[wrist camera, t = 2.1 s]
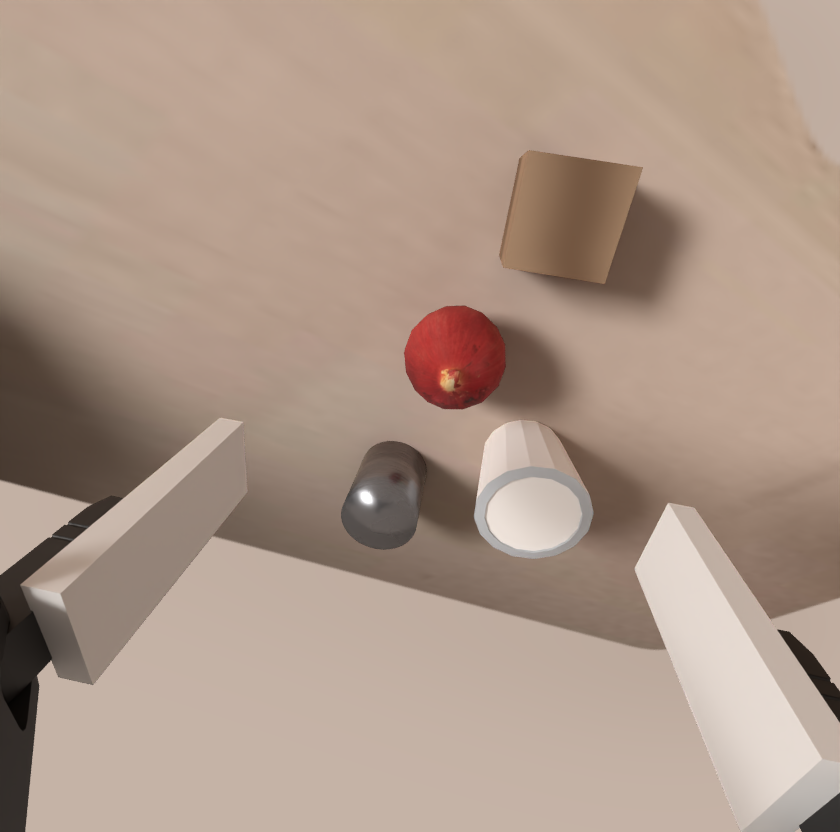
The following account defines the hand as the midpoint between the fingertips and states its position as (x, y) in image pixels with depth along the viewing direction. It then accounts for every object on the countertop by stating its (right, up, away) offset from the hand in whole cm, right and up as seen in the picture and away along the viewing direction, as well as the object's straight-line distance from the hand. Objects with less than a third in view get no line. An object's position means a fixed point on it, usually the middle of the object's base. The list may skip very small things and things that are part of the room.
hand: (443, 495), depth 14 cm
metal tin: (-3, -2, +20) cm, 20 cm away
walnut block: (+7, +14, +11) cm, 19 cm away
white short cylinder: (+7, 0, +18) cm, 19 cm away
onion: (+2, +8, +15) cm, 17 cm away
